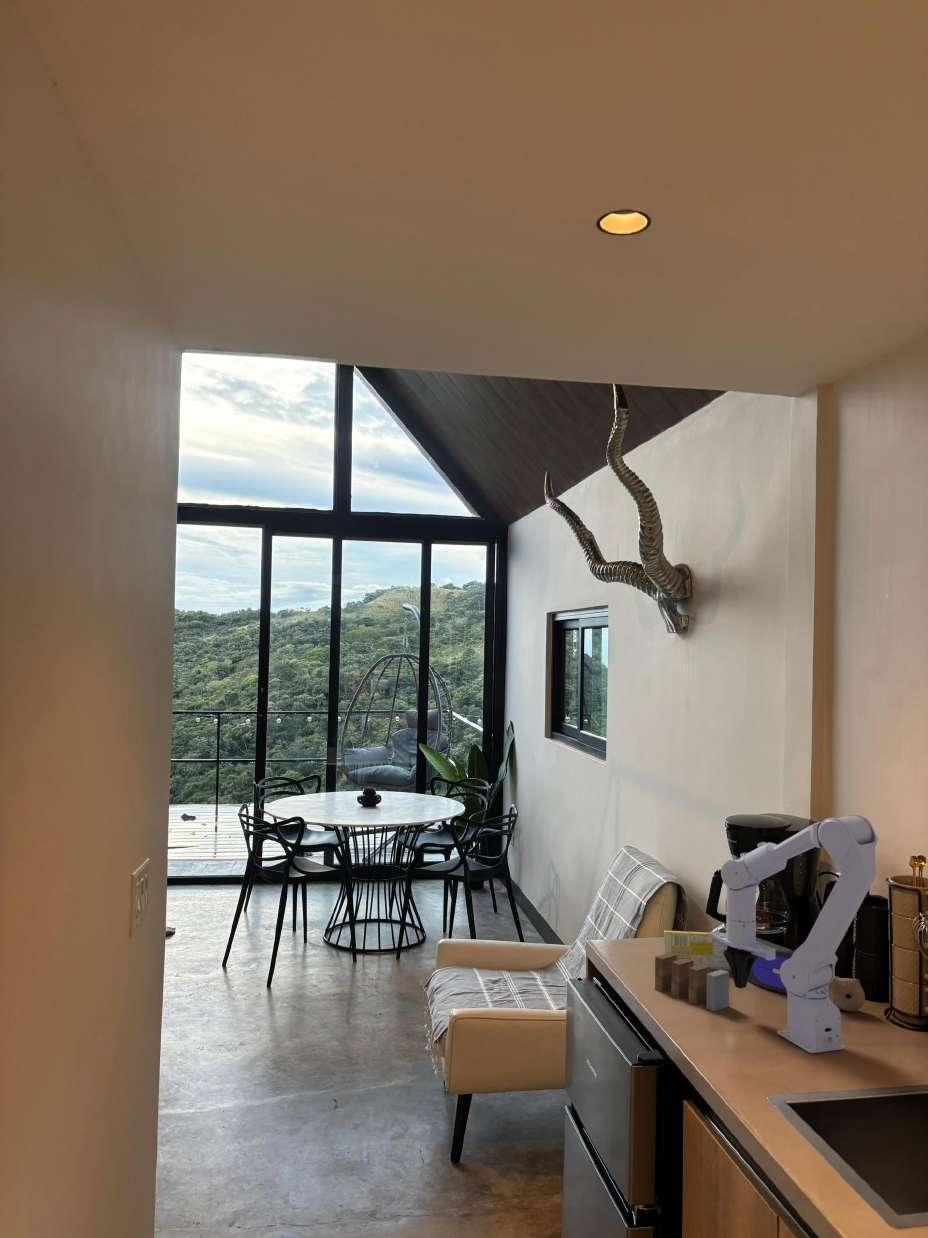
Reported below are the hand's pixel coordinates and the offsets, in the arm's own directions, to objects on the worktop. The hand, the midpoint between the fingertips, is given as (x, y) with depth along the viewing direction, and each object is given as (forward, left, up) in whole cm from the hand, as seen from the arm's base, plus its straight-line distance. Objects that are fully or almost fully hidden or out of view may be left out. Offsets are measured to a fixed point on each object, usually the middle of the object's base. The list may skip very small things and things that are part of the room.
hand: (740, 987), depth 173 cm
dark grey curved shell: (+14, -18, -6) cm, 24 cm away
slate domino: (+5, +2, -6) cm, 8 cm away
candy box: (+28, -9, -6) cm, 30 cm away
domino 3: (+9, +3, -6) cm, 11 cm away
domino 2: (+14, +5, -6) cm, 16 cm away
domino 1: (+18, +6, -6) cm, 20 cm away
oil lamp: (-3, -23, -6) cm, 24 cm away
